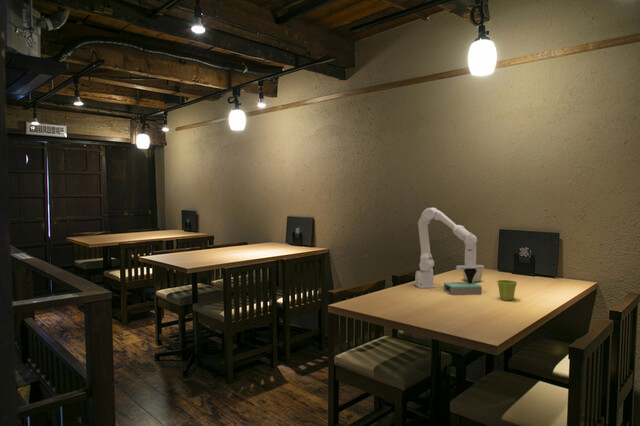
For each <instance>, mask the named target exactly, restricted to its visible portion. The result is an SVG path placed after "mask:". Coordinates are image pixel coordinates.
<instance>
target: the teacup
mask: <svg viewBox="0 0 640 426" xmlns="http://www.w3.org/2000/svg"><path fill="white" fill-rule="evenodd" d="M476 270H477V272H476V274H475V275H474V278H473V281H472V282H474V283H478V282H480V281H481V280H482V279H483V269H476ZM462 275H463V279H464V280H465V282H468V280H467V276H466V274H465V272H464V269H462Z"/></svg>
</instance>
